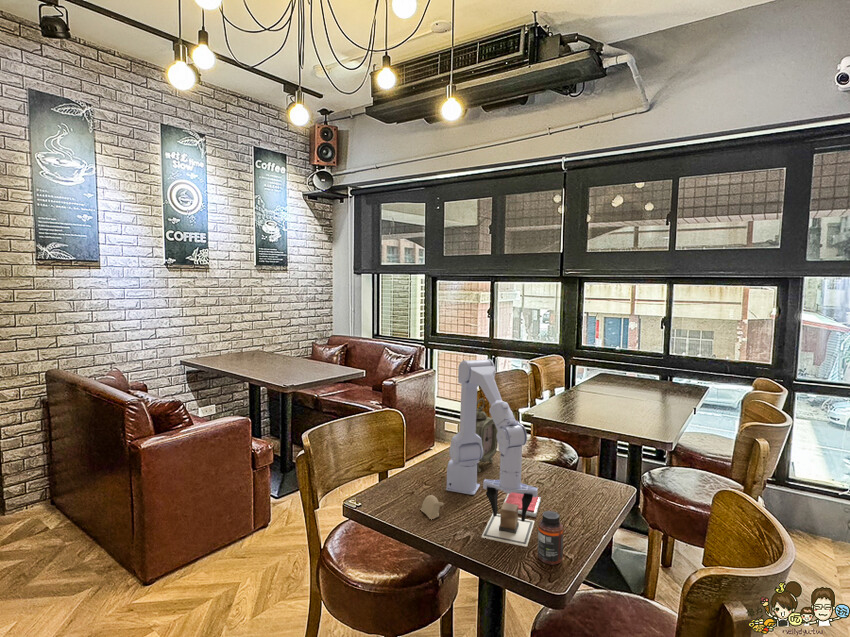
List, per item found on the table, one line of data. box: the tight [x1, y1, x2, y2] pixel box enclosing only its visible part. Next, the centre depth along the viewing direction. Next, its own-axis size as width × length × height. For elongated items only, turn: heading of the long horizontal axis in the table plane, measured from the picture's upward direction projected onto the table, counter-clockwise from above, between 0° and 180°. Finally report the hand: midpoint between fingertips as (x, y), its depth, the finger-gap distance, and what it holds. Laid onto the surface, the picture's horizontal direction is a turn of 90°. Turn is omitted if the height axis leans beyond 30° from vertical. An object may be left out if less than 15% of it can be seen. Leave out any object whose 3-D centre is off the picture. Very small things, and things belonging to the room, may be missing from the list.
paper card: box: [480, 513, 536, 548], centre depth 132 cm, size 12×14×1 cm
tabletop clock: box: [476, 398, 498, 474], centre depth 175 cm, size 14×9×25 cm, turn 149°
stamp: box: [499, 502, 519, 534], centre depth 132 cm, size 5×5×6 cm
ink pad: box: [503, 492, 542, 518], centre depth 145 cm, size 10×11×2 cm
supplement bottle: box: [537, 510, 564, 566], centre depth 118 cm, size 6×6×11 cm
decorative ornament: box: [419, 494, 445, 521], centre depth 139 cm, size 4×8×5 cm, turn 27°
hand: (509, 517), depth 131 cm, fingers open, 7 cm apart
